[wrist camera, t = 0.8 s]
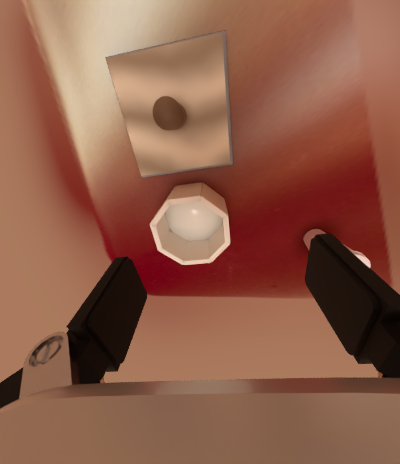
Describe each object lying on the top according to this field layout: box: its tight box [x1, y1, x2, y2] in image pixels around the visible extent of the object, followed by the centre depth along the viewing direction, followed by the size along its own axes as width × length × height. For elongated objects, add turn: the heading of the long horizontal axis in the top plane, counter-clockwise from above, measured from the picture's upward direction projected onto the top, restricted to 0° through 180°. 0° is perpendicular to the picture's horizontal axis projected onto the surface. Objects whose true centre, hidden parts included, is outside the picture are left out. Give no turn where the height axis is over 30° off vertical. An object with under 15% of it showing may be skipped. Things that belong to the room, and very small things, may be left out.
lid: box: [106, 33, 230, 176], centre depth 23 cm, size 14×14×6 cm
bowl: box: [150, 182, 230, 265], centre depth 31 cm, size 12×12×7 cm
